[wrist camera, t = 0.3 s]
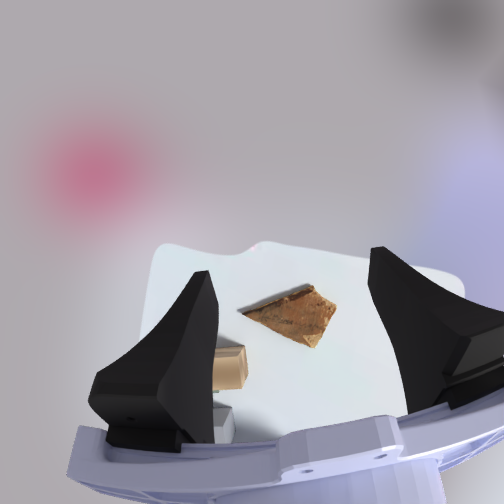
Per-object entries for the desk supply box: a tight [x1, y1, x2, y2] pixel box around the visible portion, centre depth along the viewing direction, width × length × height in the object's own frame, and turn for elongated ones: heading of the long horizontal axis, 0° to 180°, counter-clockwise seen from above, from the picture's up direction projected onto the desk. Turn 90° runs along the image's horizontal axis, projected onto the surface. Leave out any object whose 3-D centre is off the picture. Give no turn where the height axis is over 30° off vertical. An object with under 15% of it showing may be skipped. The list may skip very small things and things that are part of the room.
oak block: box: [213, 346, 248, 390], centre depth 37 cm, size 4×4×7 cm
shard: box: [242, 285, 337, 348], centre depth 40 cm, size 11×8×2 cm
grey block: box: [213, 407, 236, 444], centre depth 36 cm, size 4×4×7 cm
